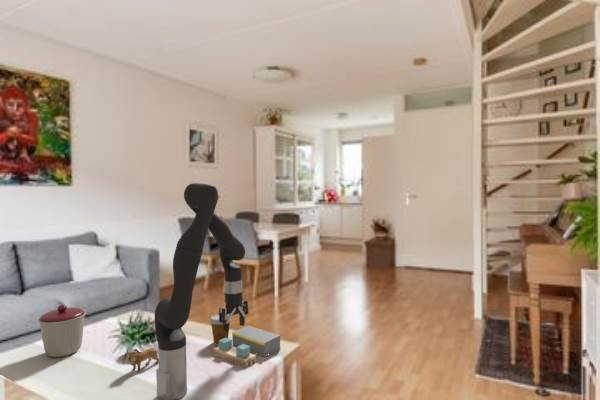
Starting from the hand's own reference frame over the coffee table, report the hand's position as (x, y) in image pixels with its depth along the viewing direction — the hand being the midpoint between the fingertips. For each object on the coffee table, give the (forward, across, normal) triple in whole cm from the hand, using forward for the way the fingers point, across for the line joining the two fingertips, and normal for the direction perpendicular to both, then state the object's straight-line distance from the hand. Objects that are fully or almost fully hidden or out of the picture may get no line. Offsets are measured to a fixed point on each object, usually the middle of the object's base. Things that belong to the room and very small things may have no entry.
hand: (234, 328), depth 161 cm
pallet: (+13, 0, 0) cm, 13 cm away
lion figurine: (+12, -29, +22) cm, 38 cm away
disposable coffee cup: (+13, +7, +17) cm, 22 cm away
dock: (+13, +13, 0) cm, 18 cm away
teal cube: (+10, 0, -5) cm, 11 cm away
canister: (+12, -43, +64) cm, 78 cm away
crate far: (+10, 0, +6) cm, 11 cm away
